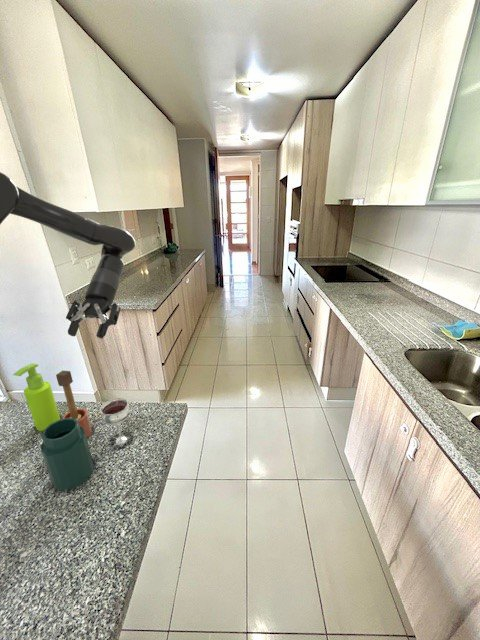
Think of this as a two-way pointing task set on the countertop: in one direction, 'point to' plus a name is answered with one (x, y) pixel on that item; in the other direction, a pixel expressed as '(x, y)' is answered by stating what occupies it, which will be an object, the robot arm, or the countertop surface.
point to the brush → (68, 392)
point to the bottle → (66, 453)
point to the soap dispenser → (39, 398)
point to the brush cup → (82, 421)
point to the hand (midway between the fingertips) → (85, 336)
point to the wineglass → (115, 414)
